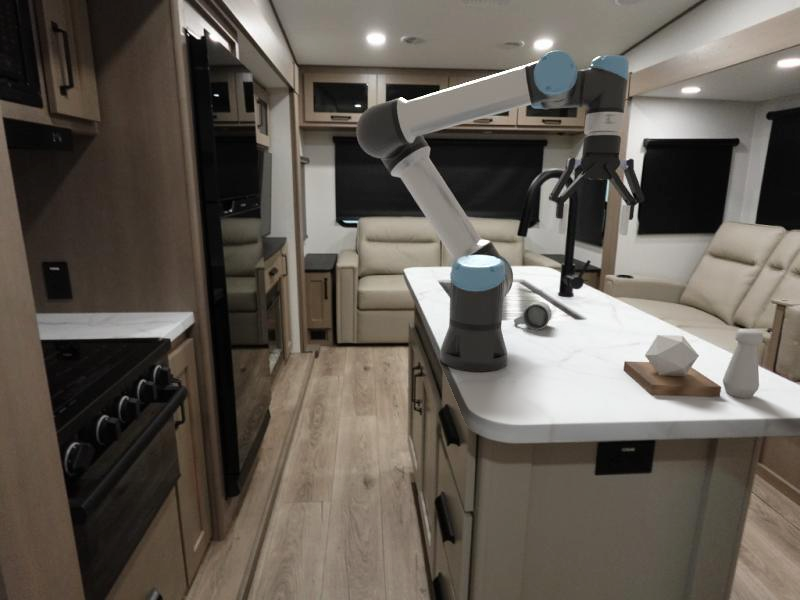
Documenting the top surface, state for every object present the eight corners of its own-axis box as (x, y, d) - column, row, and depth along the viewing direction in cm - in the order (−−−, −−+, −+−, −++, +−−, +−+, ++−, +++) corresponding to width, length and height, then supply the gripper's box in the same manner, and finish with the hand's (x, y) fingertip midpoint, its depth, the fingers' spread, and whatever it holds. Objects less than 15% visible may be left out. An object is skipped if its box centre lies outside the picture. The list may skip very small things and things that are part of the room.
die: (690, 388, 93) (714, 346, 94) (650, 363, 94) (674, 322, 95) (667, 386, 102) (690, 348, 103) (631, 363, 102) (654, 325, 103)
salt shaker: (754, 403, 90) (767, 336, 88) (718, 394, 94) (730, 330, 91) (758, 393, 95) (770, 330, 92) (723, 385, 98) (734, 324, 95)
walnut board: (650, 394, 94) (652, 384, 93) (623, 370, 106) (624, 361, 106) (719, 396, 93) (721, 386, 93) (683, 371, 106) (685, 363, 105)
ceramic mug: (551, 324, 142) (553, 299, 140) (548, 331, 135) (550, 305, 133) (516, 321, 146) (517, 297, 144) (511, 327, 139) (512, 302, 137)
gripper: (548, 132, 101) (540, 234, 106) (670, 134, 100) (656, 236, 105) (540, 136, 109) (532, 231, 113) (653, 137, 108) (641, 233, 113)
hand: (592, 234), depth 109 cm, fingers open, 13 cm apart
